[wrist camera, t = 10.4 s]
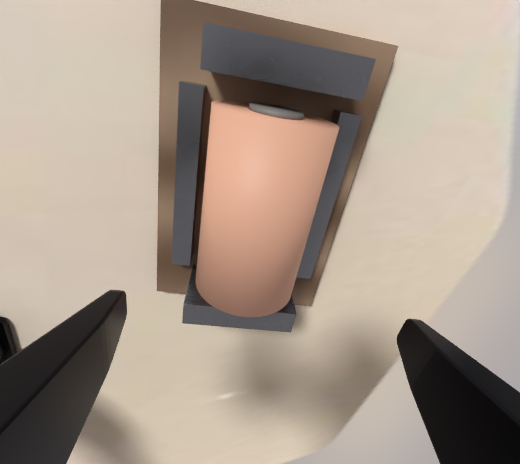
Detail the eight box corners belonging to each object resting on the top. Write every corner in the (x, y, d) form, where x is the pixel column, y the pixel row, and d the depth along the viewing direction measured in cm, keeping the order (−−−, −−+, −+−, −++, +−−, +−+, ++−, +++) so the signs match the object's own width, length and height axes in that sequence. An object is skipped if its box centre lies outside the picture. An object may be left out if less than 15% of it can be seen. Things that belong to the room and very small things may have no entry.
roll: (283, 262, 22) (298, 324, 17) (200, 253, 21) (189, 316, 16) (322, 110, 17) (361, 131, 12) (215, 91, 16) (206, 104, 11)
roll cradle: (308, 298, 25) (322, 346, 21) (159, 283, 23) (141, 332, 19) (391, 46, 16) (443, 40, 12) (164, -4, 15) (133, -32, 10)
